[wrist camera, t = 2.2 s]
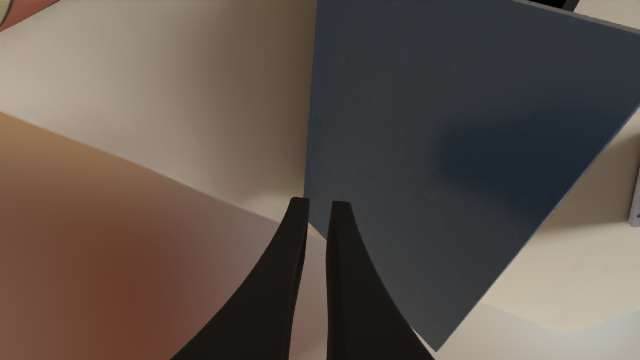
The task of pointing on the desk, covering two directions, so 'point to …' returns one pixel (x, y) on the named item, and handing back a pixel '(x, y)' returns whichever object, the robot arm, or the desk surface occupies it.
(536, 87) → the cover
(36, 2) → the coffee cup
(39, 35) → the desk surface
